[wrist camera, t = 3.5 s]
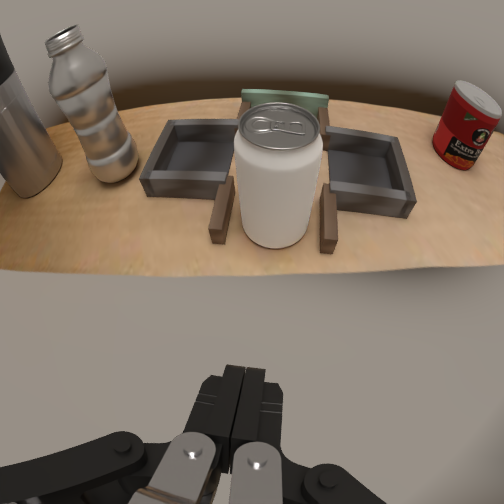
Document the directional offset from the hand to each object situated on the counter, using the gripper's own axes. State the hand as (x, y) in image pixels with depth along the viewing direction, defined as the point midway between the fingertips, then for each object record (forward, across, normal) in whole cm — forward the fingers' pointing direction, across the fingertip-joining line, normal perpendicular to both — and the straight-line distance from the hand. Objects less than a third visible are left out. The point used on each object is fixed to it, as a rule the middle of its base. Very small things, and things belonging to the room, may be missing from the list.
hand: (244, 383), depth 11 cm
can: (+20, 0, -2) cm, 20 cm away
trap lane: (+26, 0, -8) cm, 27 cm away
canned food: (+32, -26, -14) cm, 44 cm away
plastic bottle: (+25, +20, -7) cm, 33 cm away
